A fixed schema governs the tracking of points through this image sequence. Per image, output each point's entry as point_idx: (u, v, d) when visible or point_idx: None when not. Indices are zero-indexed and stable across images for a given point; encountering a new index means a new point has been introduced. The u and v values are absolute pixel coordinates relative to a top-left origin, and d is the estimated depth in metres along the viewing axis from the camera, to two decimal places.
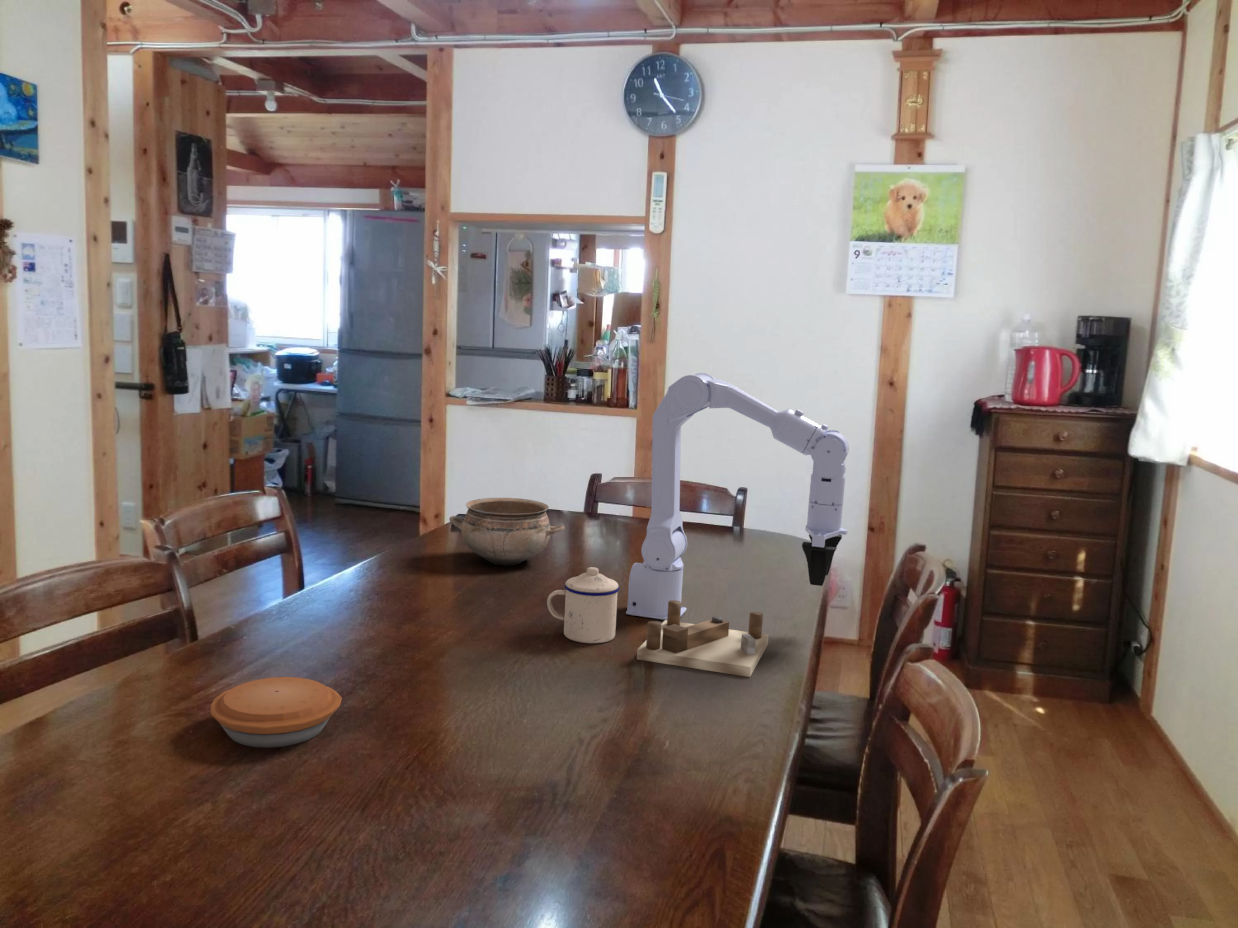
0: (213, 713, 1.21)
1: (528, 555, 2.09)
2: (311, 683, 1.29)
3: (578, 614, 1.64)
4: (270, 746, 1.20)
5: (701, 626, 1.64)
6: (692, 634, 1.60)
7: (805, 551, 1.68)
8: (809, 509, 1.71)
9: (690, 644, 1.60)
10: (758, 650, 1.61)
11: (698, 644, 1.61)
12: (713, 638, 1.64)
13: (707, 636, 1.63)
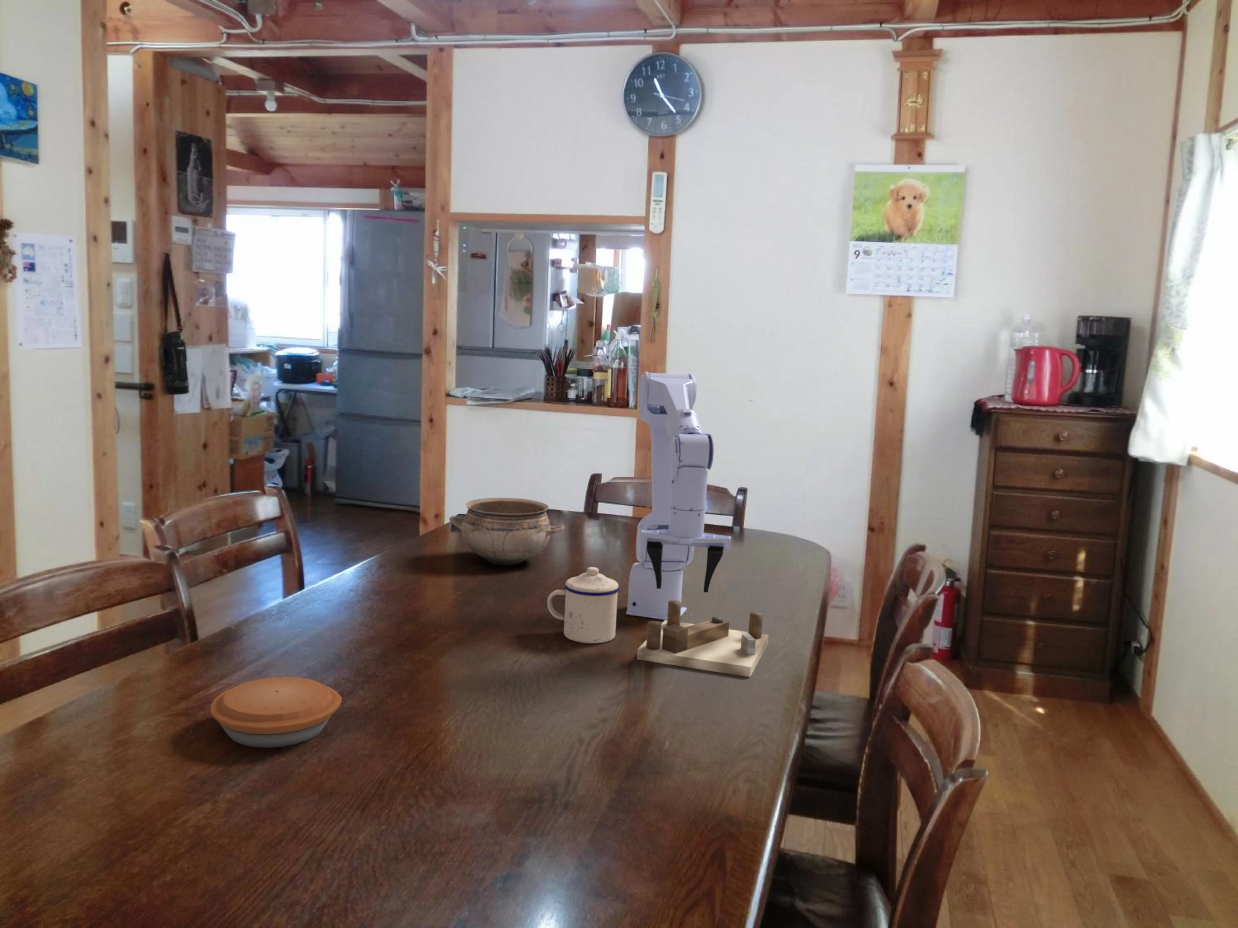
0: (213, 713, 1.21)
1: (528, 555, 2.09)
2: (311, 683, 1.29)
3: (578, 614, 1.64)
4: (270, 746, 1.20)
5: (701, 626, 1.64)
6: (692, 634, 1.60)
7: None
8: None
9: (690, 644, 1.60)
10: (758, 650, 1.61)
11: (698, 644, 1.61)
12: (713, 638, 1.64)
13: (707, 636, 1.63)
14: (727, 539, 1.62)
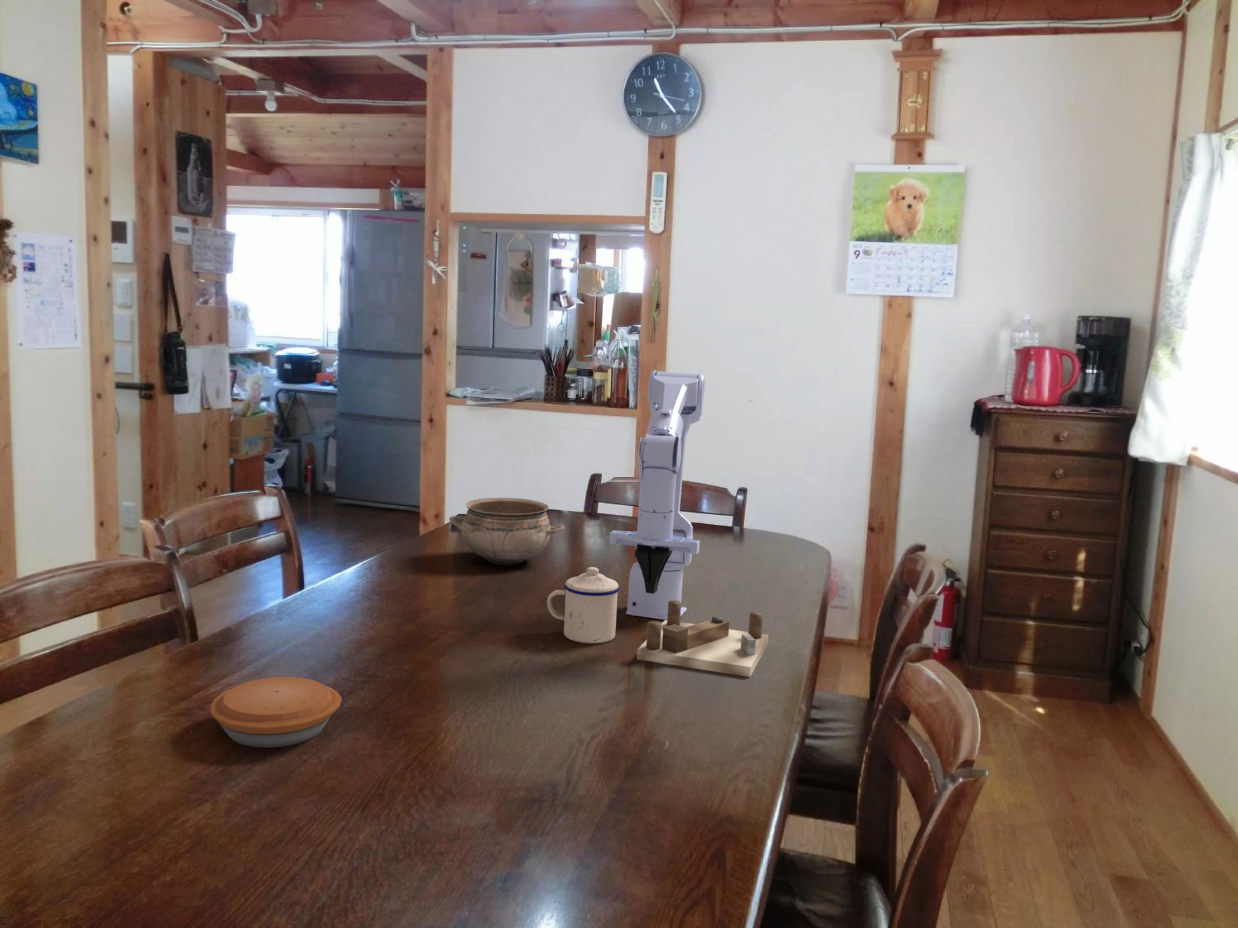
0: (213, 714, 1.21)
1: (528, 555, 2.09)
2: (311, 683, 1.29)
3: (578, 614, 1.64)
4: (270, 746, 1.20)
5: (701, 626, 1.64)
6: (692, 634, 1.60)
7: None
8: None
9: (690, 644, 1.60)
10: (758, 650, 1.61)
11: (698, 644, 1.61)
12: (713, 638, 1.64)
13: (707, 636, 1.63)
14: (694, 543, 1.59)
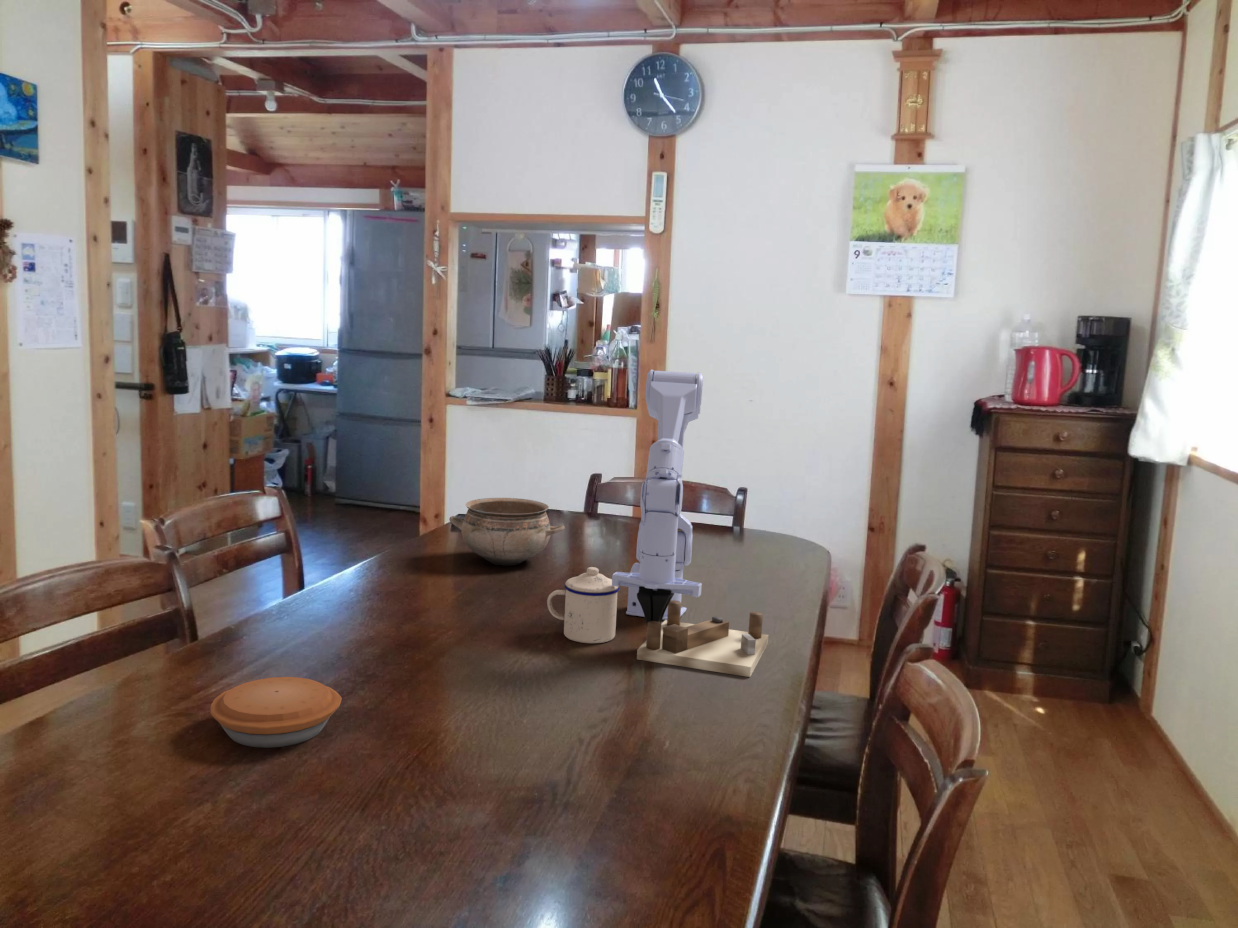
0: (213, 714, 1.21)
1: (528, 555, 2.09)
2: (311, 683, 1.29)
3: (578, 614, 1.64)
4: (270, 746, 1.20)
5: (701, 626, 1.64)
6: (692, 634, 1.60)
7: None
8: None
9: (690, 644, 1.60)
10: (758, 650, 1.61)
11: (698, 644, 1.61)
12: (713, 638, 1.64)
13: (707, 636, 1.63)
14: (695, 586, 1.60)
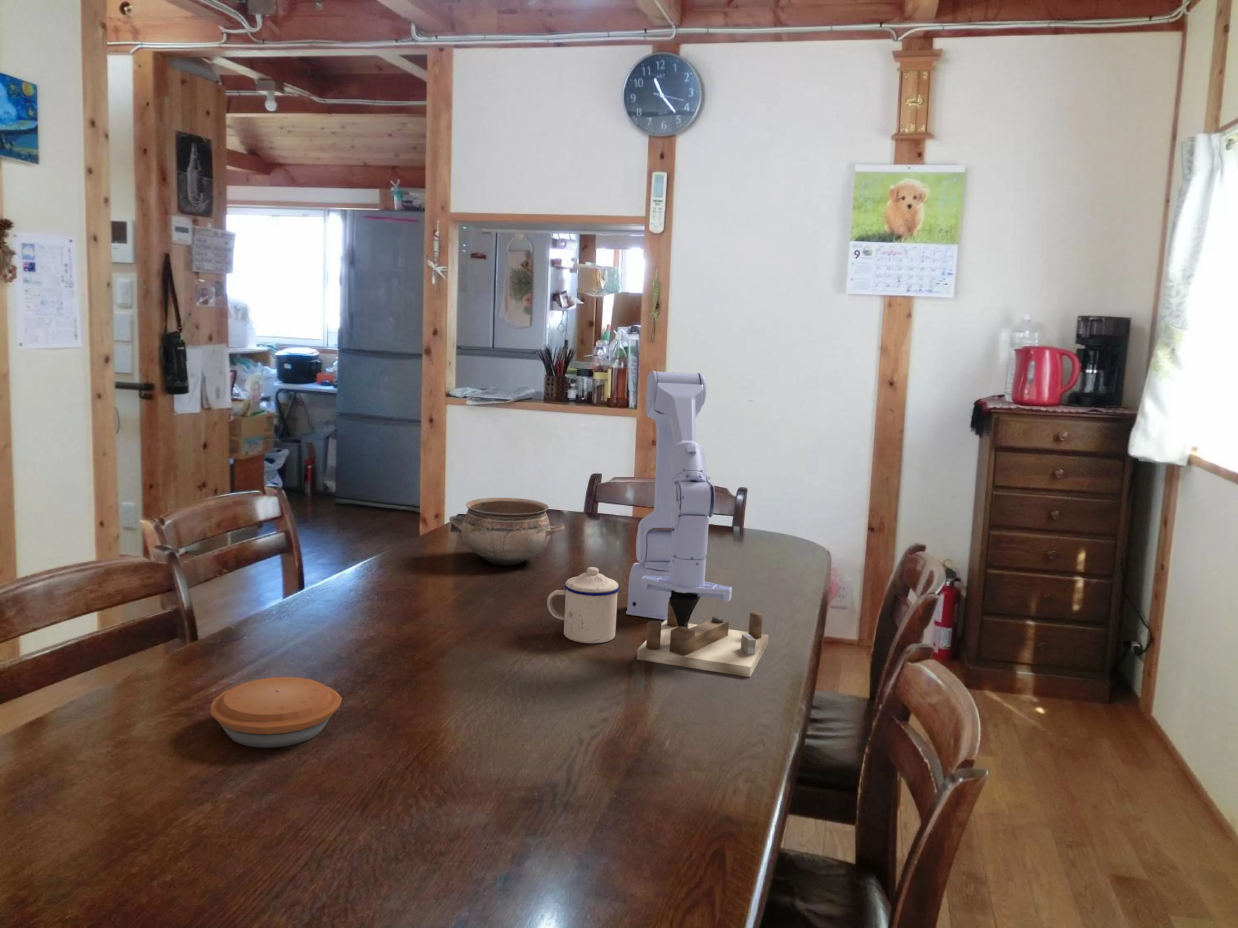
0: (213, 713, 1.21)
1: (528, 555, 2.09)
2: (311, 683, 1.29)
3: (578, 614, 1.64)
4: (270, 746, 1.20)
5: (704, 627, 1.63)
6: (698, 636, 1.59)
7: None
8: None
9: (697, 645, 1.59)
10: (758, 650, 1.61)
11: (703, 645, 1.61)
12: (715, 638, 1.64)
13: (711, 636, 1.63)
14: (726, 590, 1.58)
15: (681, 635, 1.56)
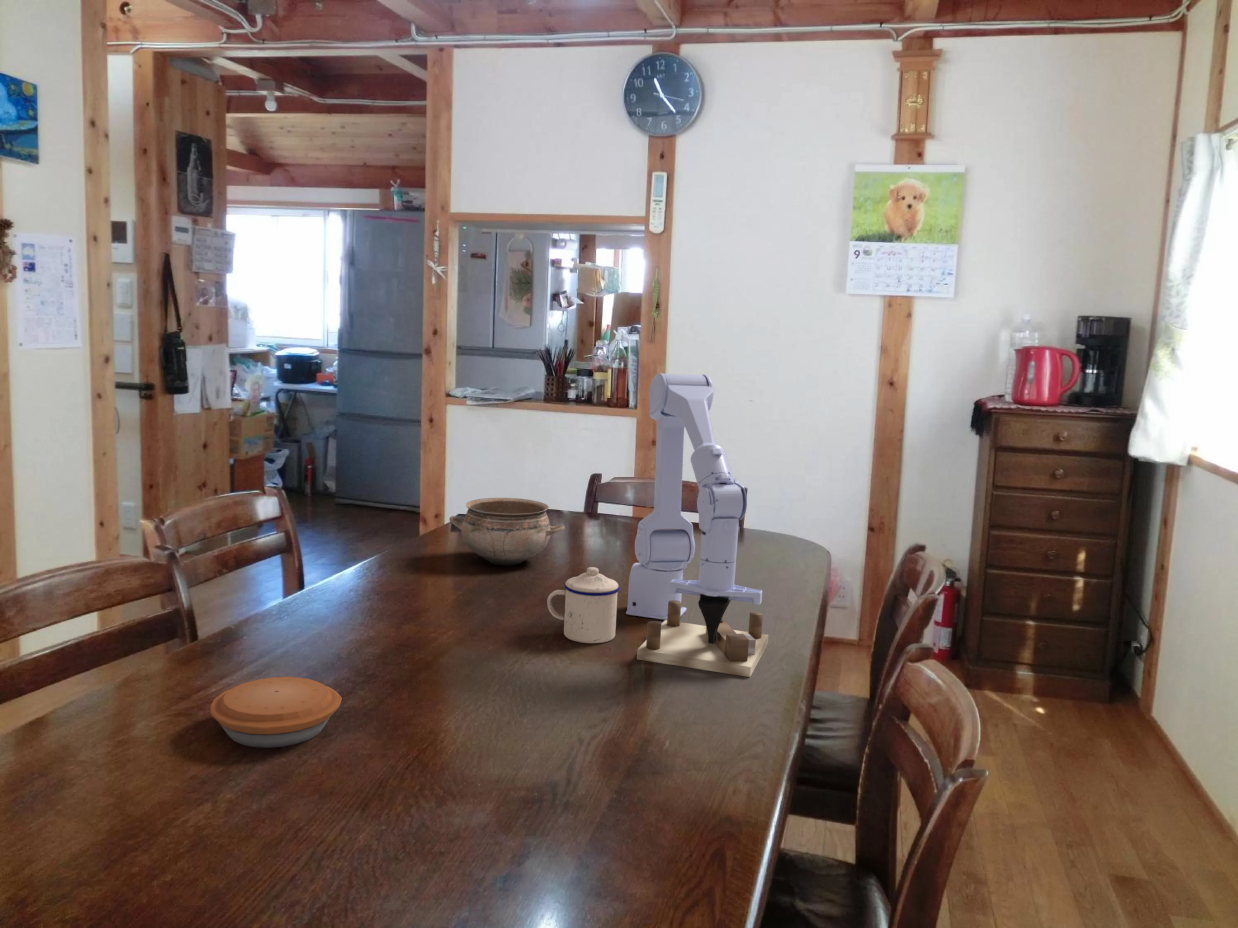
0: (213, 713, 1.21)
1: (528, 555, 2.09)
2: (311, 683, 1.29)
3: (578, 614, 1.64)
4: (270, 746, 1.20)
5: (724, 629, 1.63)
6: None
7: None
8: None
9: None
10: (758, 650, 1.61)
11: None
12: None
13: None
14: (757, 593, 1.57)
15: (743, 641, 1.55)
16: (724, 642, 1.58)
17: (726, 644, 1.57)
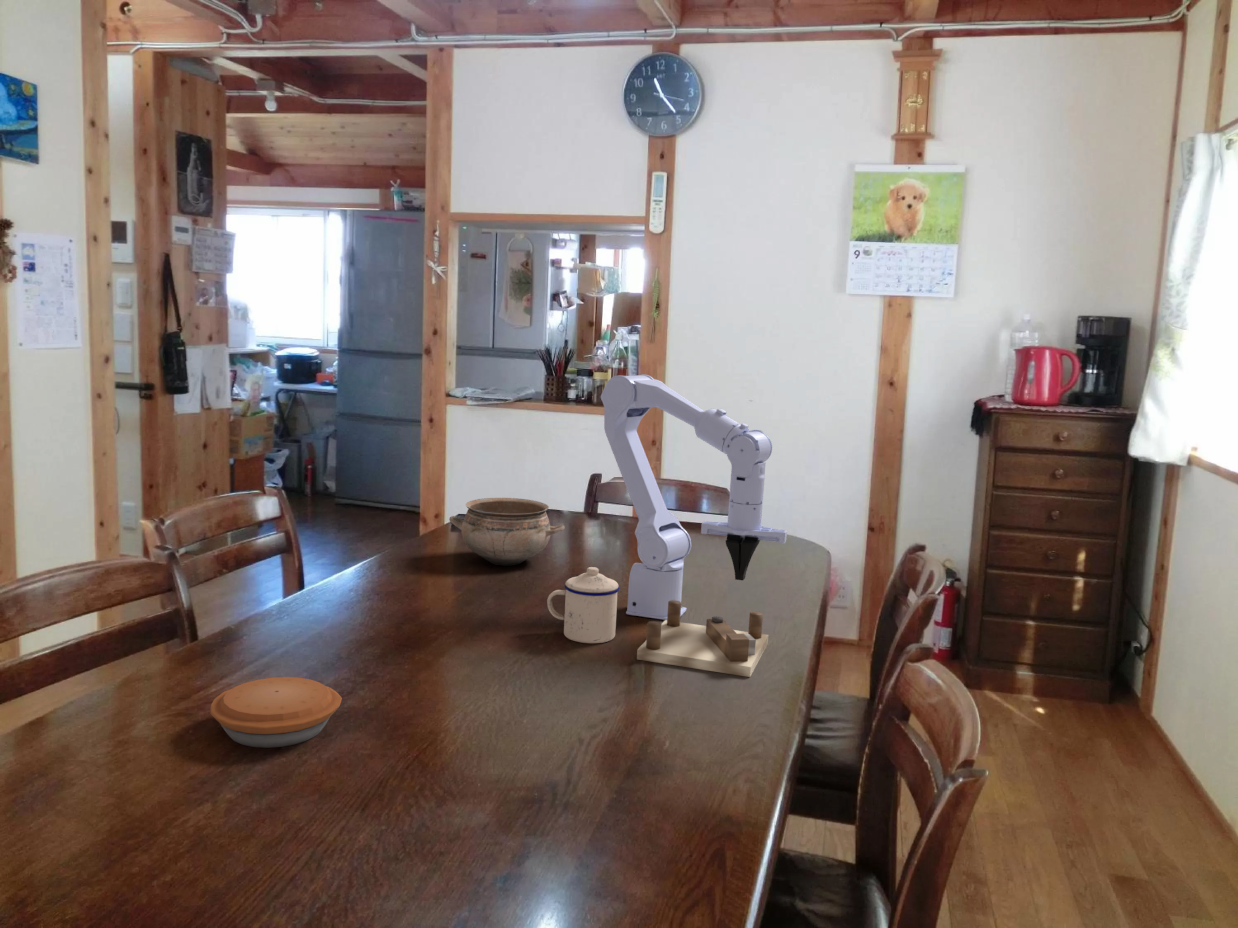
0: (213, 713, 1.21)
1: (528, 555, 2.09)
2: (311, 683, 1.29)
3: (578, 614, 1.64)
4: (270, 746, 1.20)
5: (724, 629, 1.63)
6: None
7: None
8: None
9: None
10: (758, 650, 1.61)
11: None
12: None
13: None
14: (782, 533, 1.70)
15: (744, 641, 1.55)
16: (724, 642, 1.58)
17: (726, 644, 1.57)
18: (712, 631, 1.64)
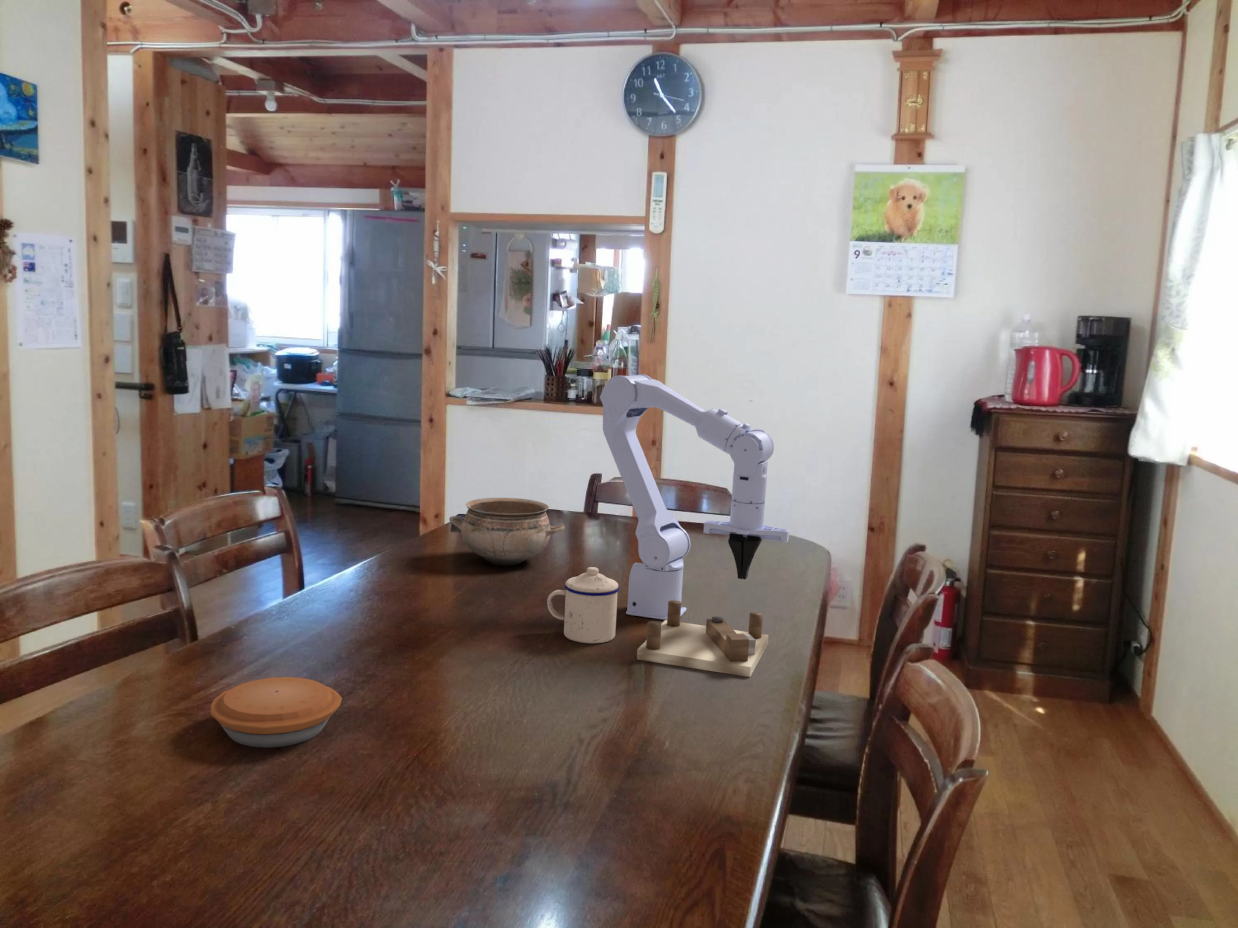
0: (213, 713, 1.21)
1: (528, 555, 2.09)
2: (311, 683, 1.29)
3: (578, 614, 1.64)
4: (270, 746, 1.20)
5: (724, 629, 1.63)
6: None
7: None
8: None
9: None
10: (758, 650, 1.61)
11: None
12: None
13: None
14: (784, 532, 1.71)
15: (744, 641, 1.55)
16: (724, 642, 1.58)
17: (726, 644, 1.57)
18: (712, 631, 1.64)
